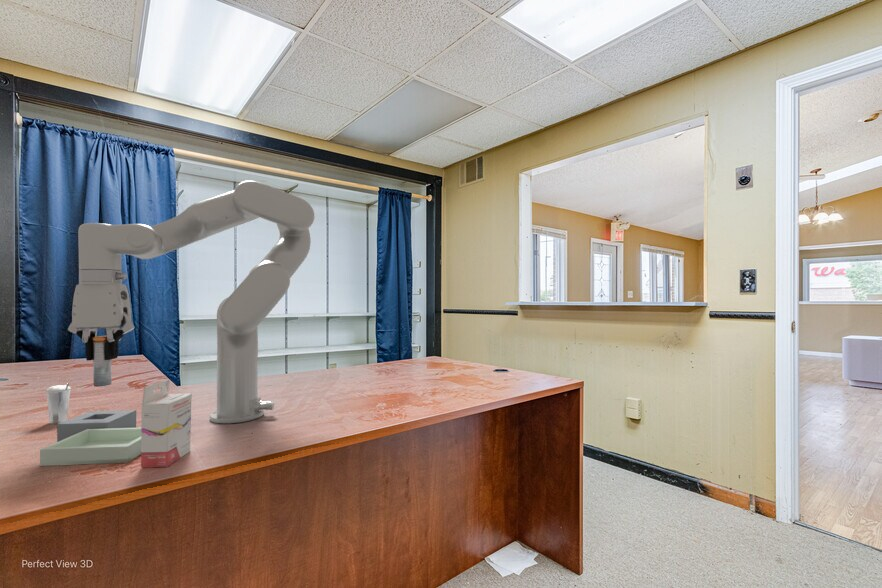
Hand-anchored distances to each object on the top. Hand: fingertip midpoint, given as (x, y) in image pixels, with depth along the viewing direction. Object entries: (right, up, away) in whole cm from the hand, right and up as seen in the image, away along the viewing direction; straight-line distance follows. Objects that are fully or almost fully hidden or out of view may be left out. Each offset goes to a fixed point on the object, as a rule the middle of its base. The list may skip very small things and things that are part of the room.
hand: (102, 358), depth 95 cm
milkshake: (-18, -17, +9) cm, 26 cm away
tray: (+10, -17, -11) cm, 23 cm away
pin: (0, -6, 0) cm, 6 cm away
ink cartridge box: (+24, -17, -15) cm, 33 cm away
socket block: (0, -17, 0) cm, 17 cm away
